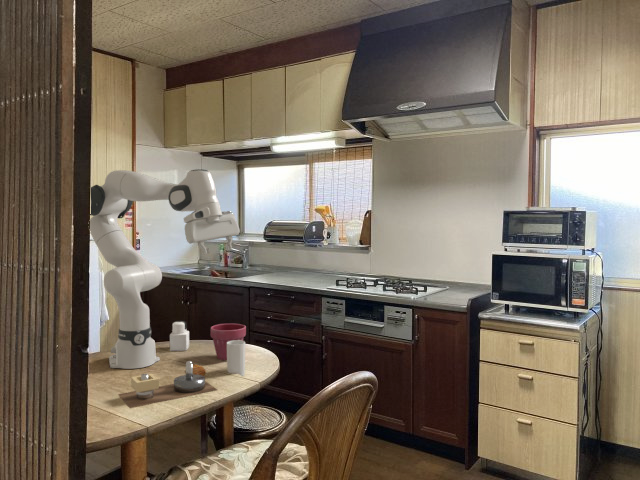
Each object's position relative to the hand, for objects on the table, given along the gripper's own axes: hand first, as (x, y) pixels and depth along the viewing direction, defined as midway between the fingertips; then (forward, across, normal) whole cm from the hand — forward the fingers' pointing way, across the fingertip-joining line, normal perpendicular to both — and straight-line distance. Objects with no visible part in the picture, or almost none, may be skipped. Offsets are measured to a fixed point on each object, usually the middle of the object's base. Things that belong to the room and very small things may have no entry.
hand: (218, 251), depth 182 cm
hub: (+42, +19, -6) cm, 47 cm away
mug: (+45, -4, -13) cm, 47 cm away
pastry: (+42, +9, -19) cm, 47 cm away
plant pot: (+41, -13, -32) cm, 54 cm away
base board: (+42, +26, -7) cm, 50 cm away
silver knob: (+40, +34, -8) cm, 53 cm away
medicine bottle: (+34, -5, -57) cm, 67 cm away
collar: (+37, +33, -7) cm, 50 cm away
